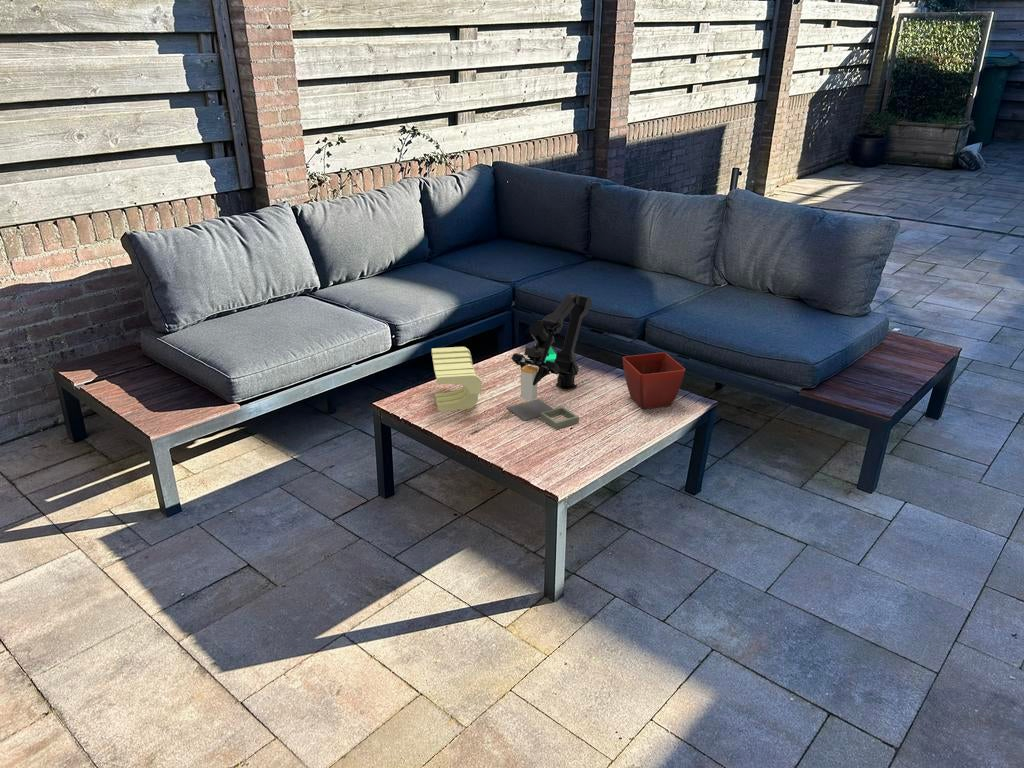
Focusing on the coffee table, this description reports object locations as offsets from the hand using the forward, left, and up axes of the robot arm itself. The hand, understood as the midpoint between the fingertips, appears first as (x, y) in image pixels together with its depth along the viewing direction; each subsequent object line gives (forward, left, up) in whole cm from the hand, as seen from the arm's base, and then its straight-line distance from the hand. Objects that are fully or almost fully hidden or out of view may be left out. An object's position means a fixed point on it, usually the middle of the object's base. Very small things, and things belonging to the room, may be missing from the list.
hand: (527, 383), depth 307 cm
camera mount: (-37, -42, -14) cm, 57 cm away
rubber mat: (-4, -2, -13) cm, 14 cm away
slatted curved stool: (+18, -24, -14) cm, 33 cm away
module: (-1, -1, -7) cm, 7 cm away
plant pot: (-49, +16, -14) cm, 54 cm away
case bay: (-8, +11, -13) cm, 19 cm away
